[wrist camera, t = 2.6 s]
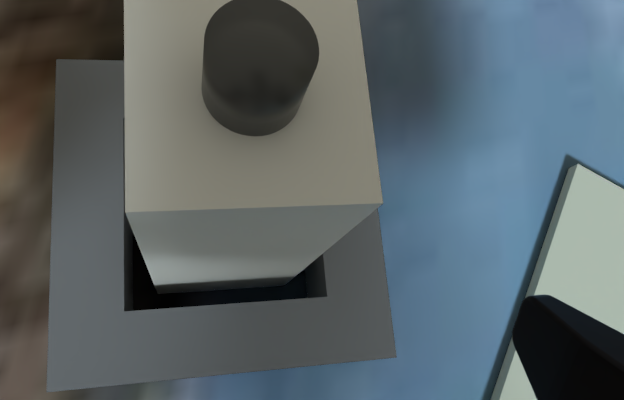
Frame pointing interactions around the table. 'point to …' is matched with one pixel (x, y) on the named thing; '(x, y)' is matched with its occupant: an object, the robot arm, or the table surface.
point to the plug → (244, 137)
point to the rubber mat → (577, 264)
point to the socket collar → (183, 320)
